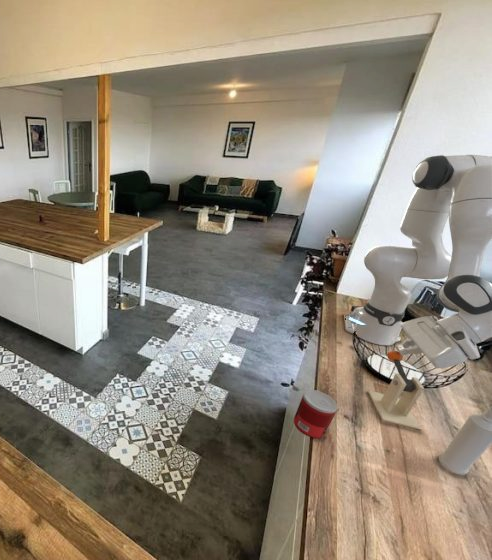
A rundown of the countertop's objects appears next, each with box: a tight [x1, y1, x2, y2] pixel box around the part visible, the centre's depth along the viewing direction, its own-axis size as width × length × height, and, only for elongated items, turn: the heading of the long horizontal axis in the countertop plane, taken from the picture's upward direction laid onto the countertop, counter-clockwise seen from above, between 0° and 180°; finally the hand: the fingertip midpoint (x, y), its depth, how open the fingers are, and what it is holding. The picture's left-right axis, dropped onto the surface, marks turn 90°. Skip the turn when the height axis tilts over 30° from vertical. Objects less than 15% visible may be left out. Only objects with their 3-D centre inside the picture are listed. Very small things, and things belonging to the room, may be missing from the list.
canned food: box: [293, 389, 338, 439], centre depth 88 cm, size 8×8×11 cm
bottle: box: [438, 405, 492, 476], centre depth 74 cm, size 5×5×25 cm
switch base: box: [367, 373, 425, 431], centre depth 92 cm, size 12×9×13 cm
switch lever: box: [386, 350, 415, 392], centre depth 95 cm, size 14×4×4 cm, turn 158°
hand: (398, 350), depth 97 cm, fingers closed
